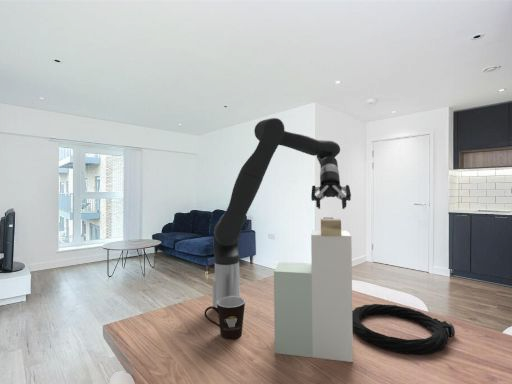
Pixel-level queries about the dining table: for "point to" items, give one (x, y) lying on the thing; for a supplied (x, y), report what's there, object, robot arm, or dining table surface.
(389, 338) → the cable lock
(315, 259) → the riser
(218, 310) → the coffee mug
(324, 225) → the block
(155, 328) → the dining table surface
